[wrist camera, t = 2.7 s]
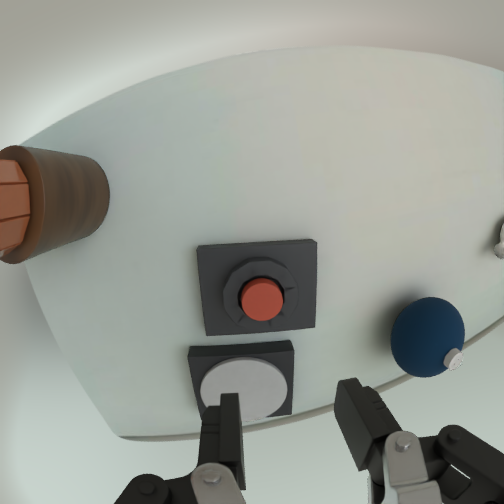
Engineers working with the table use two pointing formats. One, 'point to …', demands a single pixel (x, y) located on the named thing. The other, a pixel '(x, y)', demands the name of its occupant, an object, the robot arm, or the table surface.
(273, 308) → the button
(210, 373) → the scale
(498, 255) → the figurine
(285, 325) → the red push button box
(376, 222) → the table surface
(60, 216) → the stand
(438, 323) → the christmas ornament
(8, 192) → the orange wooden cup
